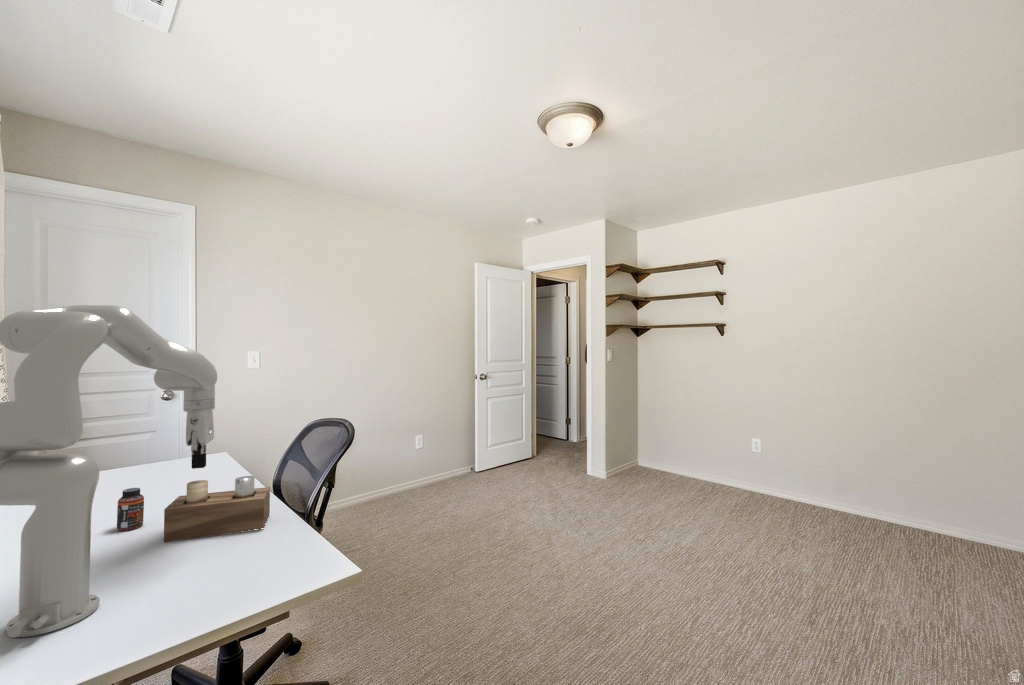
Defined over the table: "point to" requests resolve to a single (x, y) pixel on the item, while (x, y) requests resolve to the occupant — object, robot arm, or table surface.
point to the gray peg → (244, 487)
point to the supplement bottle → (130, 510)
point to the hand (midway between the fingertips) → (198, 467)
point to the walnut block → (216, 515)
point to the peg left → (197, 491)
